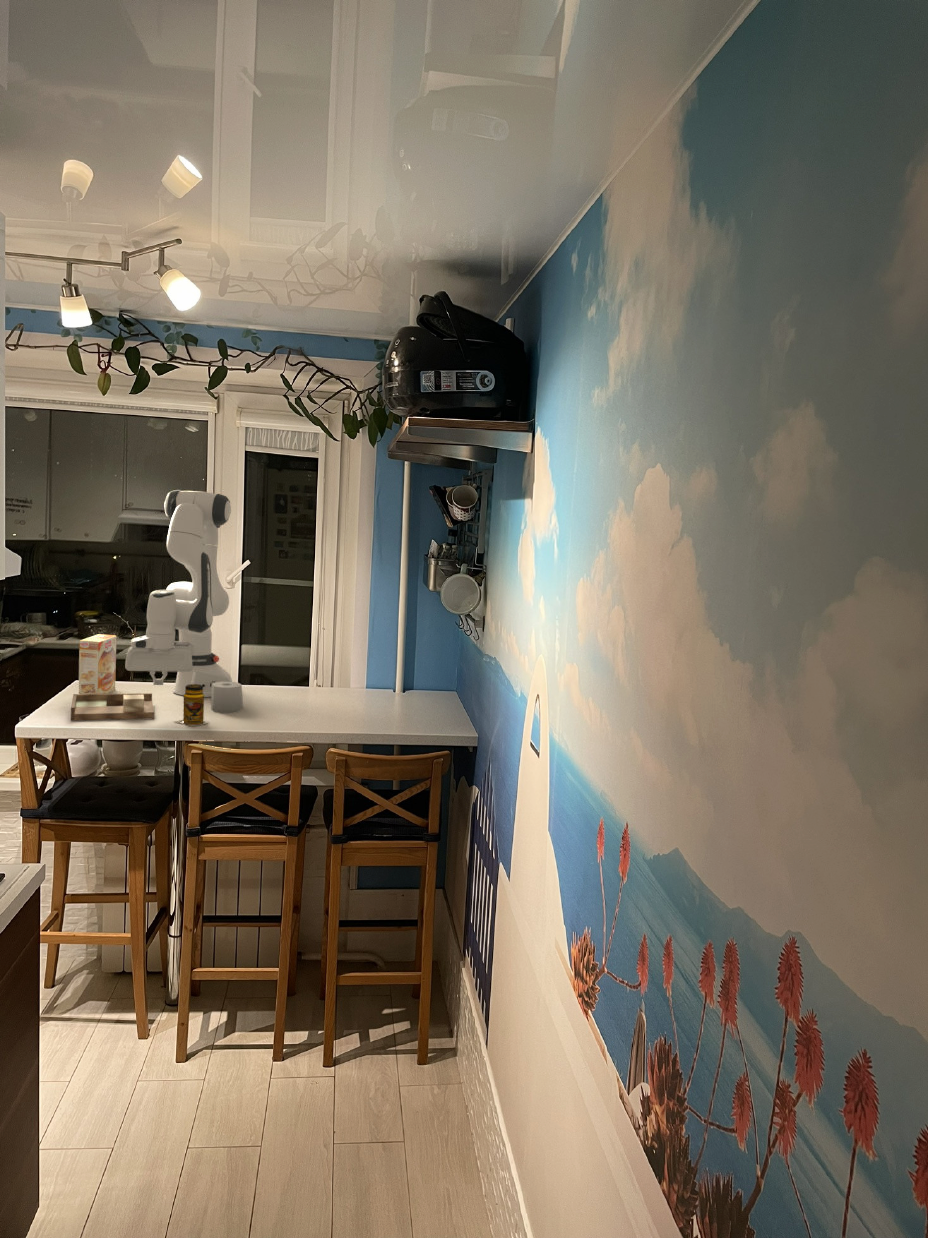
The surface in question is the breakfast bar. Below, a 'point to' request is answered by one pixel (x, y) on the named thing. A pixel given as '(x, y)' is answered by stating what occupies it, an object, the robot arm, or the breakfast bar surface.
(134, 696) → the block
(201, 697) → the condiment
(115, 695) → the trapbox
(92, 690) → the coffeecake box
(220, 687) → the toilet tissue
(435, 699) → the breakfast bar surface
